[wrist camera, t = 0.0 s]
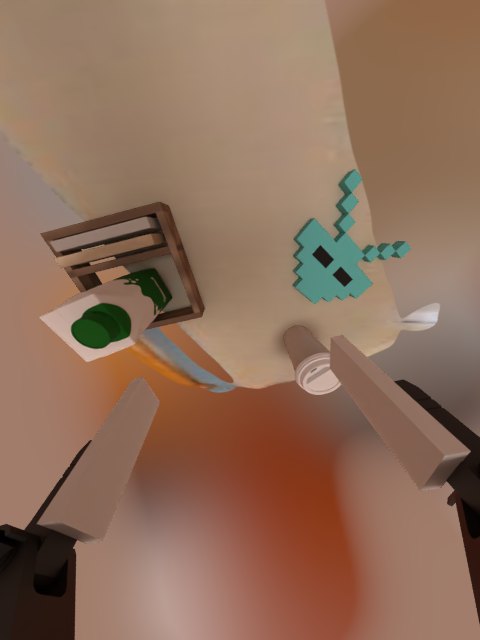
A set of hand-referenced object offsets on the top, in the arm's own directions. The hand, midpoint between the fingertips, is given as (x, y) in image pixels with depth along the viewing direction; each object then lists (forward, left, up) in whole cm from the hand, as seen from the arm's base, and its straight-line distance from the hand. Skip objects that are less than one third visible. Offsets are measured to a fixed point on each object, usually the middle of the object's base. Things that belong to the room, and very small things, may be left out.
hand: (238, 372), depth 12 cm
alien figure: (+1, +23, -29) cm, 37 cm away
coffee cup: (+19, +13, -28) cm, 36 cm away
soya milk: (-2, -18, -28) cm, 34 cm away
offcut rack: (-5, -18, -28) cm, 34 cm away
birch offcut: (-10, -18, -28) cm, 35 cm away
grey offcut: (-13, -18, -28) cm, 36 cm away
